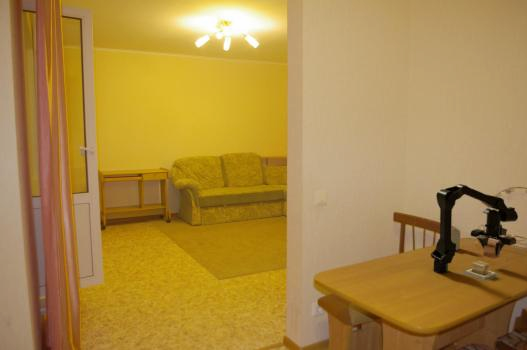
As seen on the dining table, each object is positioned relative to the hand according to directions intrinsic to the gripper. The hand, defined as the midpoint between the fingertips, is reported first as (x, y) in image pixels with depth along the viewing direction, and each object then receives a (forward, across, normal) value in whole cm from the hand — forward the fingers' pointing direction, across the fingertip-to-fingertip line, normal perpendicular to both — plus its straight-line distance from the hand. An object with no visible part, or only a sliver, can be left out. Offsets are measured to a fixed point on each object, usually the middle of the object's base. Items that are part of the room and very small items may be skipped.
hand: (491, 254), depth 186 cm
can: (+8, +28, -12) cm, 31 cm away
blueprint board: (+8, -2, +12) cm, 14 cm away
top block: (+1, 0, 0) cm, 1 cm away
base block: (+6, -2, +12) cm, 14 cm away
